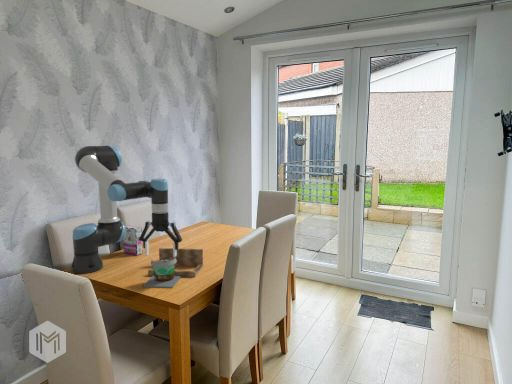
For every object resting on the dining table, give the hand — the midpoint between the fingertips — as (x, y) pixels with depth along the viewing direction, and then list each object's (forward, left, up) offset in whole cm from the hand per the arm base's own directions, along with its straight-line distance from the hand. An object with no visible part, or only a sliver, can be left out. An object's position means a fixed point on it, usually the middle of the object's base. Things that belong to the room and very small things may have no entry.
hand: (161, 255), depth 170 cm
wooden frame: (+2, +16, -13) cm, 21 cm away
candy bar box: (-33, +42, -13) cm, 55 cm away
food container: (+1, 0, -13) cm, 13 cm away
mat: (0, 0, -13) cm, 13 cm away
